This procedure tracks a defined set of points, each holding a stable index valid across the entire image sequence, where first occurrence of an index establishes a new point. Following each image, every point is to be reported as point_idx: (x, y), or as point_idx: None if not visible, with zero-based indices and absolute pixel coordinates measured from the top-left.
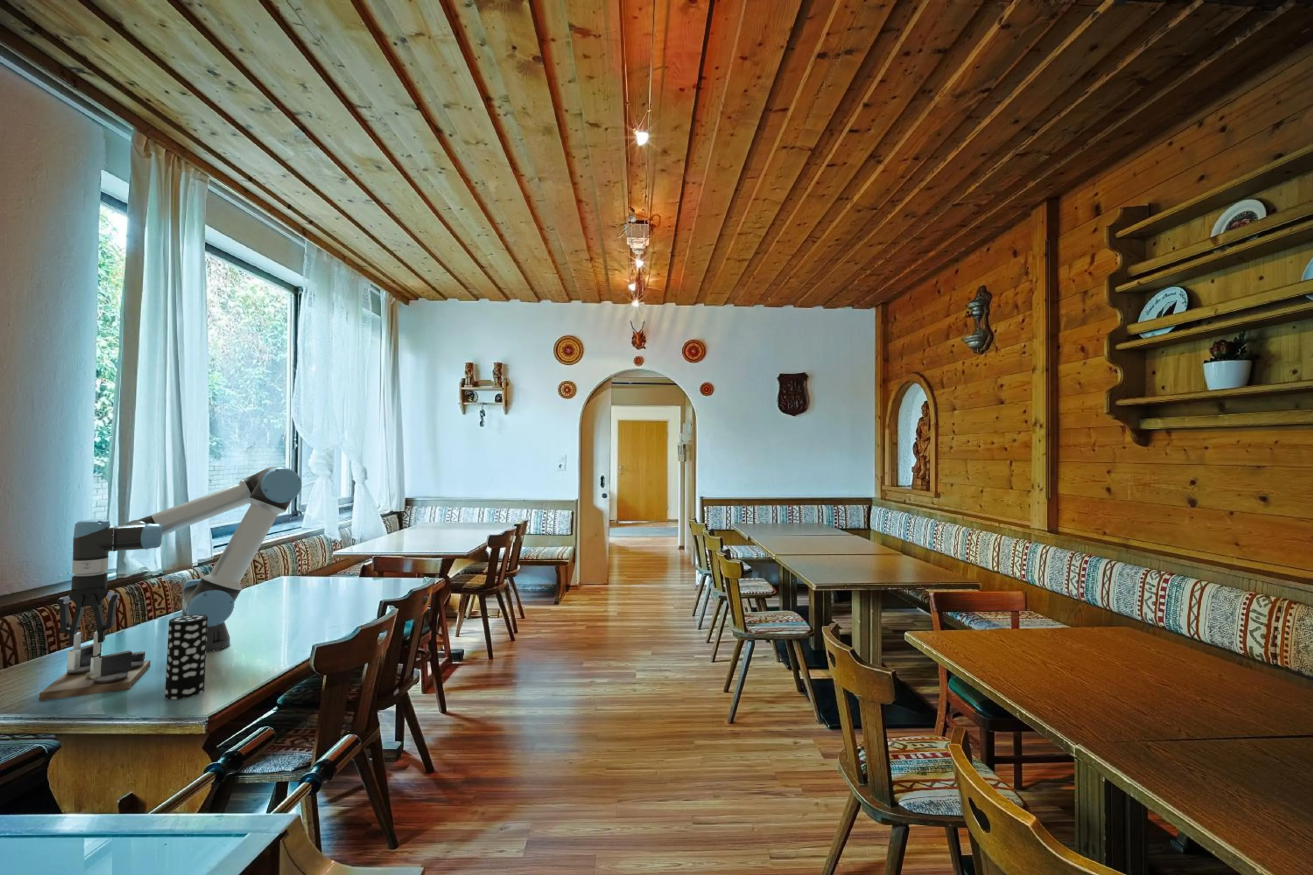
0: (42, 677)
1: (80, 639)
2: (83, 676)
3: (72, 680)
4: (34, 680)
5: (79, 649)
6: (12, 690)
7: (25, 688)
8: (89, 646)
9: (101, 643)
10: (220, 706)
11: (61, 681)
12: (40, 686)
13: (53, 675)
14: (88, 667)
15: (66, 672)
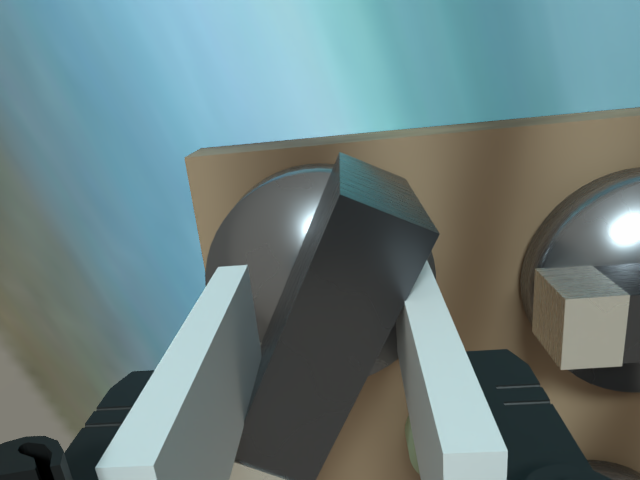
0: (14, 116)
1: (200, 382)
2: (375, 396)
3: (341, 457)
4: (7, 179)
5: (293, 468)
6: (16, 355)
7: (68, 342)
8: (350, 372)
9: (437, 237)
10: None
11: None
12: (136, 333)
13: (64, 87)
14: (383, 367)
15: (206, 256)
